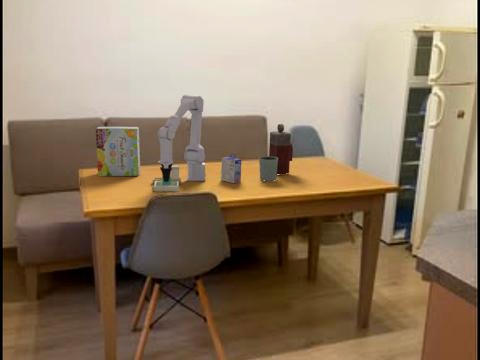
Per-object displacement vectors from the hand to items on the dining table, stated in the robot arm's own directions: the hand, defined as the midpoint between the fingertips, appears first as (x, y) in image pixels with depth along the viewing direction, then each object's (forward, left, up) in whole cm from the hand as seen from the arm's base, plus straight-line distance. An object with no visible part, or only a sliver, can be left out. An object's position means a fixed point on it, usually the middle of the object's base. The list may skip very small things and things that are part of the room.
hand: (166, 179), depth 243 cm
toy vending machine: (-63, -34, -5) cm, 72 cm away
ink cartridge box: (-33, -15, -5) cm, 37 cm away
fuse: (-4, -10, -3) cm, 11 cm away
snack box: (+26, -29, -5) cm, 40 cm away
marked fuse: (0, 0, -4) cm, 4 cm away
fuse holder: (0, -10, -4) cm, 11 cm away
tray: (0, 0, -4) cm, 4 cm away
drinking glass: (-53, -18, -5) cm, 56 cm away
